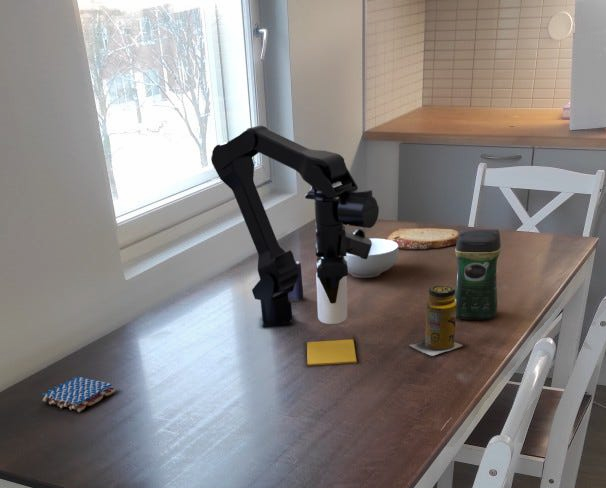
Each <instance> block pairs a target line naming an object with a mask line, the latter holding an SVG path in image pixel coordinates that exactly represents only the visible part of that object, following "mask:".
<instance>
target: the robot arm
mask: <svg viewBox="0 0 606 488" xmlns="http://www.w3.org/2000/svg"><path fill="white" fill-rule="evenodd" d="M211 152H212V153H211V154H212V155H211V156H210V161H211V164H212V166H213V168H214V170H215V172H216V174H217V176H218V177H219V179H220V180H221V182H223V183H224V184H225V185H226V186H227V187H228V188H229V189H230V190H231V191H232V193H233V195H234V198H235V200H236V203H237V205H238V208H239V210H240V213H241V215H242V219H243V220H244V223H245V225H246V227H247V230H248V232H249V235H250V237H251V240H252V242H253V245H254V247H255V250H256V253H257V255H258V258H257V273H258V277H259V280H258V282H257V283H256V284H255V285H254V287H252V289H251V292H252V294H253V297H254V300H258V301H260V307H261V308H260V309H261V319H262V320H261V326H262V327H279V326H290V325H291V321H292V320H293V307H292V305H293V304H292V300H291V299H288V293H289V292H292V291H293V290H294V286H295V283H296V282H297V278H298V270H297V268H299V267H298V265H297V264H296V262H295V261H296V260H295V257H294V253H293V251H292V250H290V249H289V250H287V251H285V250H284V249H283V248H282V247H281V246H280V244H279V242H278V240H277V237H276V235H275V232H274V230H273V227H272V224H271V221H270V219H269V217H268V214H267V212H266V209H265V207H264V204H263V202H262V199H261V197H260V194H259V192H258V189H257V187H256V184H255V181H254V176H255V162H254V159H253V158H254V157H255V156H256V155H258V154H261V155H263V156H266V157H268V158H269V159H272V160H273V161H276V162H277V163H280V164H282V165H284V166H286V167H288V168H289V169H292V170H293V171H295V172H297V173H298V174H299V175H300V177H301V179H302V180H303V181H304V182H305V183H307V184H308V186H310V187H311V188H310V189H309V191H308V192H307V193H306V194H305V195H304V198H305V199H306V200H314V201H313V202H314V221H315V222H314V223H315V236H316V237H315V241H316V243H314V244H315V245H314V246H315V257H316V273H317V277H318V278H319V280H320V282H321V284H322V286H323V288H324V290H325V292H326V294H327V296H328V299H329V301H330V303H336V298H337V293H338V287H339V282H340V280H341V279H342V278H343V277H344V276H347V277H348V276H349V273H348V266H347V261H346V260H345V259H344V256H346V252H347V253H349V254H352V255H356V256H359V257H361V258H362V259H367V258H368V255H369V252H370V249H371V246H372V243H371V240H370V239H371V238H369V237H367V236H366V233H365V230H364V229H362V228H366V229H371V228H373V227H374V226H375V224H376V223H377V220H378V217H379V212H380V206H379V205H378V201H377V199H376V198H375V197H374V196H373V190H372V189H363V190H362V189H359V186H358V184H357V183H356V181H355V179H354V177H353V176H352V174H351V172H350V171H349V170H348V167H347V165H346V162H345V159H344V157H343V156H342V155H341V154H339V153H336V152H332V151H328V150H319V149H311V148H307V147H306V146H304V145H301V144H299V143H298V142H295V141H293V140H291V139H289V138H287V137H285V136H282V135H280V134H278V133H276V132H274V131H272V130H270V129H268V128H267V127H266V126H264V125H262V124H261V125H256V126H252V127H248V128H246V129H245V130H244V131H243V132H242V133H240V134H239V135H238V136H235V137H234V138H232V139H231V140H228V141H226V142H224V143H220V144H217V145H215V146H214V147H213V150H212V151H211ZM345 226H350V227H357V228H356V229H355V230H354V231H353V232H347V231H346V227H345Z"/></svg>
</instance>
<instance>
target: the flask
mask: <svg viewBox="0 0 606 488" xmlns="http://www.w3.org/2000/svg"><path fill="white" fill-rule="evenodd" d="M295 262H296V264H297V265H298V267H299V268H297V270H298V278H297V282H296V283H295V286H294V290H293V291H292V292H289V293H288V299H291V301H295V302H296V301H297V302H298V301H303V300H304V286H303V276H302V275H303V274H302V263H301V262H300V261H298V260H297V261H296V260H295Z"/></svg>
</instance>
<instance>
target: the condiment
mask: <svg viewBox="0 0 606 488" xmlns="http://www.w3.org/2000/svg"><path fill="white" fill-rule="evenodd" d="M455 292H456V288H454V287H453V286H452V285H446V284H439V285H434V286H431V287H430V288H429V290H428V296H427V298H428V300H427V301H426V303H425V304H426V305H425V306H426V307H425V339H424V340H421V341H419V342H416V343H412V344H409V346H410V347H412V348H413V349H415V350H417V351H419V352H421V353H423V354H426V355H429V356H431V357H434V356H436V355H439V354H442V353H445V352H449V351H450V352H451V351H452V350H455V349H458V348H461V347H463V346H464V345H463V344H461V343H458V342H456V341H455V340H456V322H457V321H456V320H457V319H456V318H457V317H456V301H455Z"/></svg>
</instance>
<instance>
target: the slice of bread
mask: <svg viewBox="0 0 606 488" xmlns="http://www.w3.org/2000/svg"><path fill="white" fill-rule="evenodd" d="M459 233H460V231H458V230H455V229H452V228H451V229H449V228H435V227H434V228H431V227H430V228H429V227H427V228H426V227H424V228H403V227H401V228H399V229H398V230H397V229H396V230H394V231H393V232H392V233H390V234H389V235H388V236H387V238H386V240H391V241H394V242H396V243H397V244H398V246H399V248H398V249H400V250H404V251H405V250H407V251H411V250H413V251H414V250H416V251H417V250H418V251H419V250H429V249H441V248H446V247H451V246H455V245H456V244H457V239H458V235H459Z"/></svg>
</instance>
